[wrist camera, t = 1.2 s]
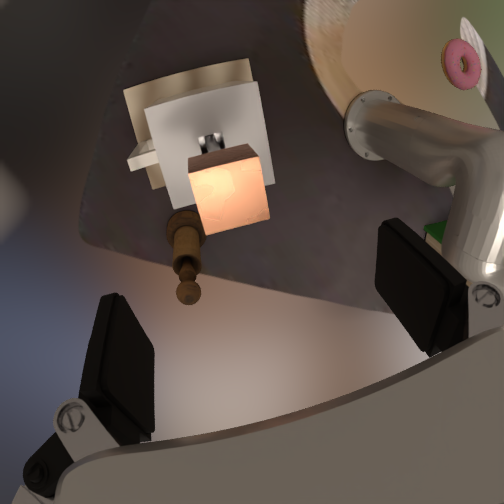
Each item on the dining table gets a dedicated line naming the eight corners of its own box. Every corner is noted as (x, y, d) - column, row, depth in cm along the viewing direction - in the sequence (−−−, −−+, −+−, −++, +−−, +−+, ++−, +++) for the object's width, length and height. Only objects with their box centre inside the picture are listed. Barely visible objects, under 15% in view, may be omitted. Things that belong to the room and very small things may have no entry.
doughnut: (442, 28, 37) (456, 28, 34) (474, 54, 40) (488, 56, 37) (432, 74, 43) (447, 76, 39) (465, 96, 46) (479, 100, 42)
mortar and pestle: (163, 213, 48) (156, 281, 33) (203, 207, 49) (213, 273, 34) (170, 248, 52) (168, 323, 37) (207, 243, 53) (219, 316, 38)
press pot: (234, 80, 38) (257, 81, 26) (249, 150, 45) (275, 183, 32) (134, 107, 37) (109, 121, 25) (154, 175, 44) (142, 218, 31)
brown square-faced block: (238, 93, 31) (291, 111, 15) (252, 162, 36) (307, 239, 20) (164, 112, 30) (138, 148, 15) (182, 179, 35) (181, 273, 20)
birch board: (247, 58, 38) (248, 58, 37) (265, 158, 47) (267, 159, 46) (124, 89, 37) (123, 90, 36) (153, 187, 45) (152, 189, 45)
